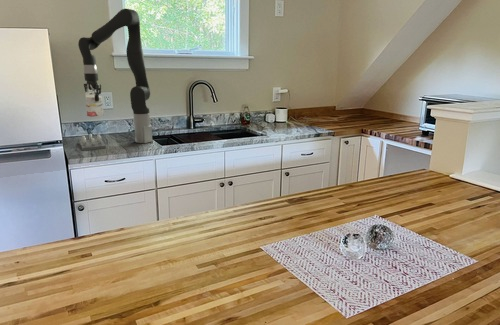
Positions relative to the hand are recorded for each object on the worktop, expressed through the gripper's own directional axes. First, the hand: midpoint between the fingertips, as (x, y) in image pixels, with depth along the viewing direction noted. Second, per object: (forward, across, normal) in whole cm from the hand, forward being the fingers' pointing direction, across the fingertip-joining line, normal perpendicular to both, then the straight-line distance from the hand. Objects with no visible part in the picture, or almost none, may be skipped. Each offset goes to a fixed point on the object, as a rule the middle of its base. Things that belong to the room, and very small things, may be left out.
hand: (94, 101), depth 236 cm
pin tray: (+23, -14, +14) cm, 31 cm away
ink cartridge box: (+9, 0, 0) cm, 9 cm away
